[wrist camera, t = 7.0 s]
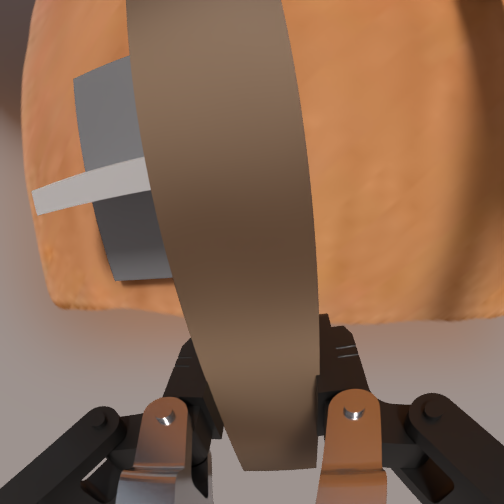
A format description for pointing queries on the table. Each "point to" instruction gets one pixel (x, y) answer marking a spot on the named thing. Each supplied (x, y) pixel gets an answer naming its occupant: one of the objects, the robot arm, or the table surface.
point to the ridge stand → (112, 175)
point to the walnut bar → (235, 211)
